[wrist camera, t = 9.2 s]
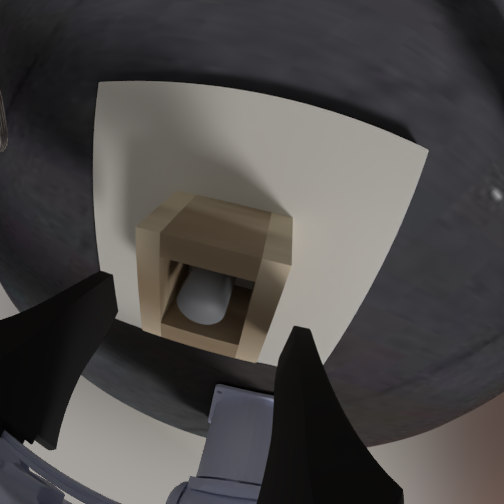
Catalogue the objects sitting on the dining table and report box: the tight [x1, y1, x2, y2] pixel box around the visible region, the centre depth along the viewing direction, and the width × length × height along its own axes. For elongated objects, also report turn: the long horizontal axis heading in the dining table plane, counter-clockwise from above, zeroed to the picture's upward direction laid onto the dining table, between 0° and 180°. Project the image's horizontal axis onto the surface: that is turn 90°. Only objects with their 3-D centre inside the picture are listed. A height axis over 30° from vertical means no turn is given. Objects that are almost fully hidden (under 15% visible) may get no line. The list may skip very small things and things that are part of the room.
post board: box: [93, 81, 429, 366], centre depth 13 cm, size 16×16×5 cm
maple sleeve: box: [135, 191, 293, 363], centre depth 12 cm, size 6×6×4 cm
